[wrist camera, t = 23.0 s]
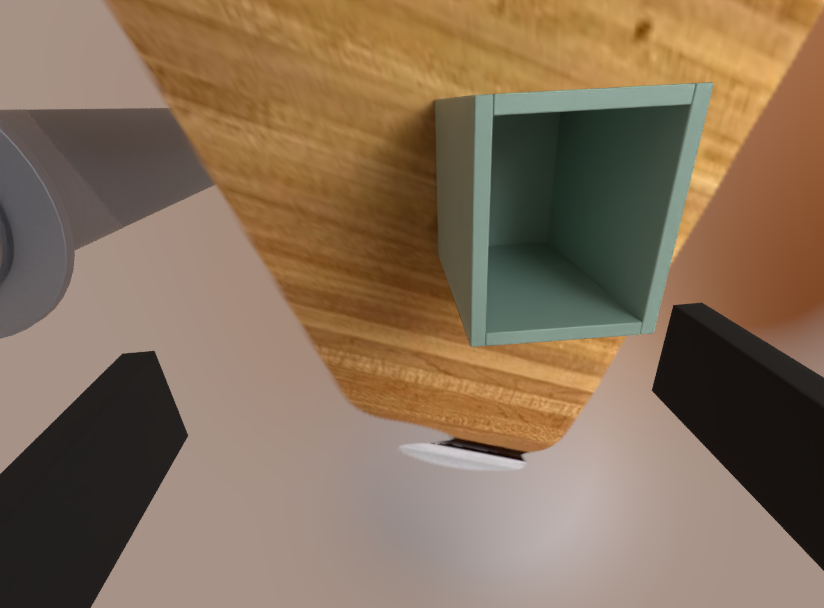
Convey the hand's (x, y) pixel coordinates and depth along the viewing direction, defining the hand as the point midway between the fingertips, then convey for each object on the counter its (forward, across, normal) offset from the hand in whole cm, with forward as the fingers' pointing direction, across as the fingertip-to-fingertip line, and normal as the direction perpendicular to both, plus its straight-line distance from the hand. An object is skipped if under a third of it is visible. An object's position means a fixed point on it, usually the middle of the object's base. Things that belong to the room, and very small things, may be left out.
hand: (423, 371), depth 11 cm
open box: (+17, +8, 0) cm, 19 cm away
